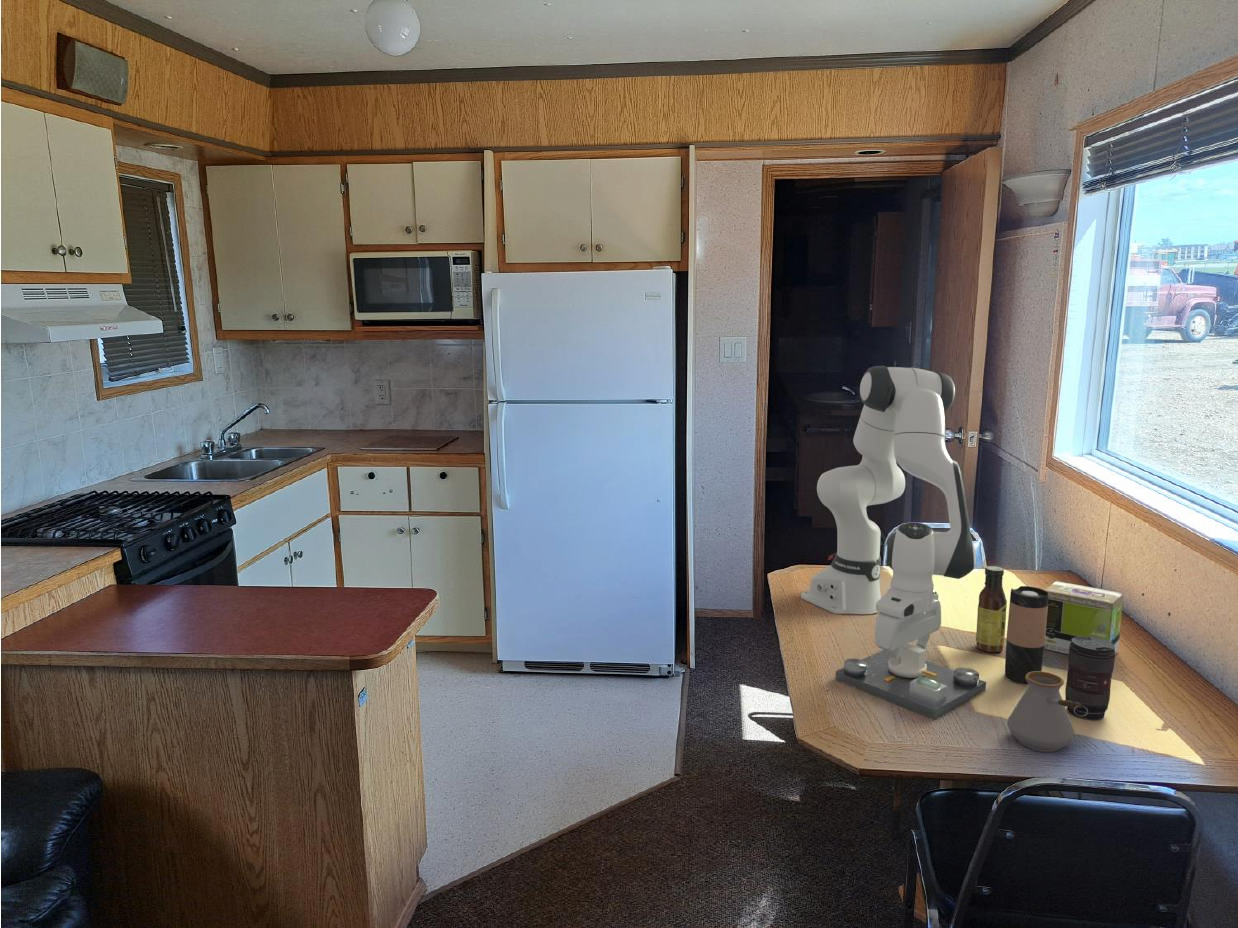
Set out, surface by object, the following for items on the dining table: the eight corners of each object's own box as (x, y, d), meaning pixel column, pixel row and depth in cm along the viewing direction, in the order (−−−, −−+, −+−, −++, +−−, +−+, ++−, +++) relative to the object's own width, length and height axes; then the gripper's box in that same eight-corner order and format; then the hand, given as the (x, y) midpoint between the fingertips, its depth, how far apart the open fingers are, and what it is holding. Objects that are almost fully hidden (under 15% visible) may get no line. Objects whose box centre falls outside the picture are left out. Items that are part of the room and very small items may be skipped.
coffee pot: (997, 725, 171) (1003, 653, 168) (1058, 727, 170) (1065, 655, 167) (1039, 785, 150) (1047, 705, 147) (1109, 788, 149) (1118, 707, 146)
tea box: (1118, 651, 205) (1125, 592, 202) (1107, 665, 198) (1114, 603, 195) (1050, 635, 215) (1055, 578, 212) (1037, 648, 208) (1042, 589, 205)
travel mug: (1043, 687, 187) (1051, 599, 183) (1004, 682, 190) (1011, 595, 186) (1039, 673, 194) (1047, 587, 190) (1002, 668, 197) (1009, 584, 193)
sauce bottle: (1006, 654, 204) (1012, 573, 200) (978, 652, 205) (984, 572, 202) (1000, 643, 211) (1006, 565, 207) (972, 642, 212) (978, 563, 208)
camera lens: (1118, 718, 173) (1125, 647, 170) (1085, 724, 171) (1092, 652, 168) (1086, 700, 181) (1093, 632, 178) (1054, 706, 179) (1060, 637, 176)
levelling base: (835, 679, 192) (836, 654, 191) (888, 655, 204) (889, 631, 203) (934, 719, 174) (935, 691, 172) (985, 690, 186) (987, 664, 185)
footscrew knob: (880, 669, 192) (881, 645, 191) (901, 659, 197) (902, 636, 196) (925, 685, 184) (927, 661, 182) (946, 675, 188) (947, 651, 187)
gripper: (924, 584, 197) (921, 641, 200) (871, 605, 184) (868, 666, 187) (950, 591, 192) (946, 650, 195) (897, 613, 180) (893, 675, 182)
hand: (907, 658), depth 191 cm, fingers open, 8 cm apart
